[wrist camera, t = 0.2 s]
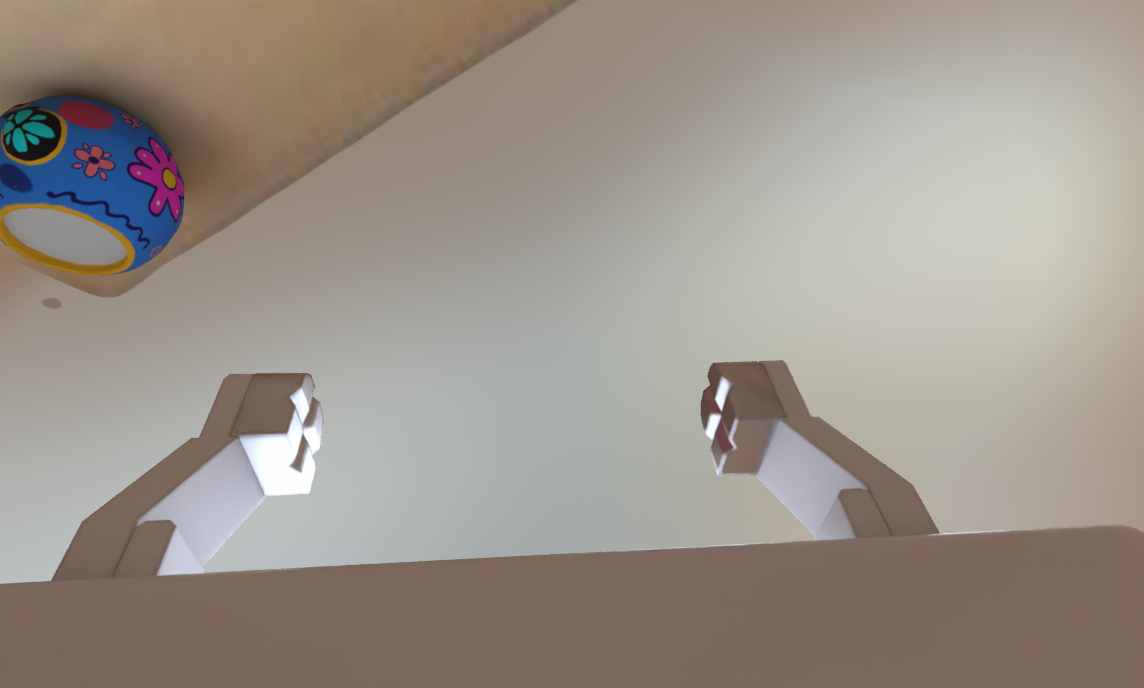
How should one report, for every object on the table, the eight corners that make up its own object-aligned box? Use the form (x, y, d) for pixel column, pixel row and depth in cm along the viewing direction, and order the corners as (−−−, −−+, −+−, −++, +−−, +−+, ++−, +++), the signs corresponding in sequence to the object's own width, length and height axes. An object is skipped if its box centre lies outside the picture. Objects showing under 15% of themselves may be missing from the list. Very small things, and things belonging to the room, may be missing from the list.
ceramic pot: (70, 31, 61) (15, 151, 54) (234, 153, 76) (208, 261, 68) (-37, 106, 68) (-98, 222, 60) (133, 205, 82) (99, 309, 75)
